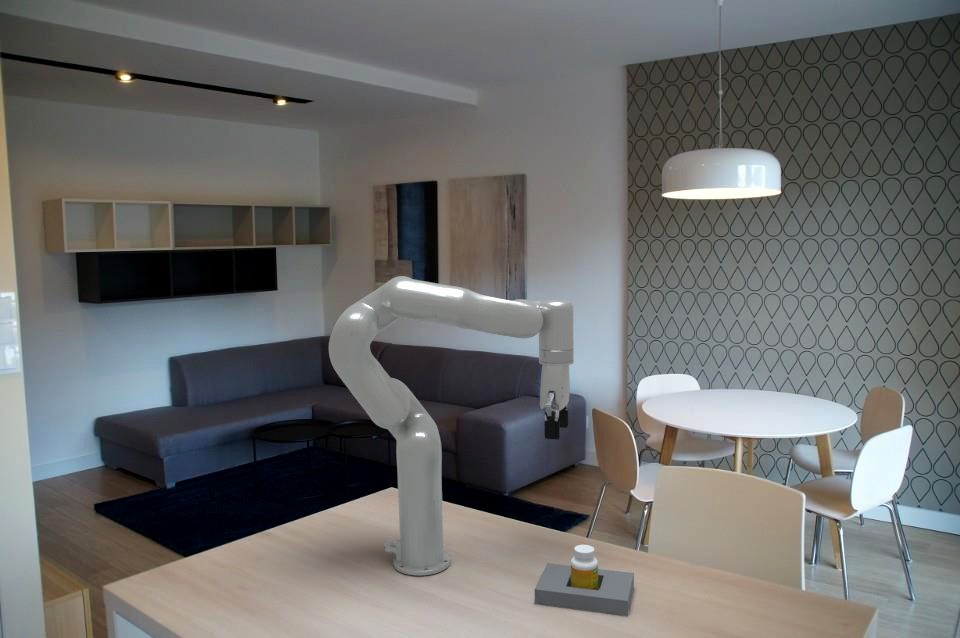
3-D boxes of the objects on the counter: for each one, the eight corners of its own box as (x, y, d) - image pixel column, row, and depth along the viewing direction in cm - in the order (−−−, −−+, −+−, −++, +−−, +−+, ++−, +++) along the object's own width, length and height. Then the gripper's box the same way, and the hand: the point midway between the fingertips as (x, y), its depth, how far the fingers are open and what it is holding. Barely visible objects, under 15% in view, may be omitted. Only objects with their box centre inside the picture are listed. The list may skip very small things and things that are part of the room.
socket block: (534, 603, 146) (534, 589, 146) (547, 576, 157) (547, 562, 157) (627, 615, 141) (627, 600, 140) (633, 586, 152) (633, 572, 152)
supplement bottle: (597, 602, 146) (597, 555, 145) (570, 600, 147) (569, 553, 146) (598, 589, 151) (598, 543, 150) (572, 587, 152) (571, 542, 151)
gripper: (547, 349, 172) (548, 422, 174) (530, 362, 155) (531, 442, 157) (580, 350, 170) (580, 424, 172) (565, 363, 153) (566, 444, 155)
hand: (556, 432), depth 164 cm, fingers open, 9 cm apart
